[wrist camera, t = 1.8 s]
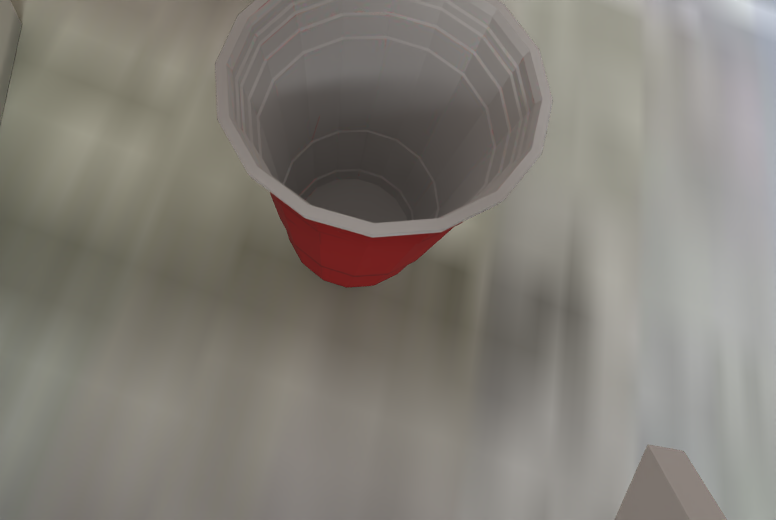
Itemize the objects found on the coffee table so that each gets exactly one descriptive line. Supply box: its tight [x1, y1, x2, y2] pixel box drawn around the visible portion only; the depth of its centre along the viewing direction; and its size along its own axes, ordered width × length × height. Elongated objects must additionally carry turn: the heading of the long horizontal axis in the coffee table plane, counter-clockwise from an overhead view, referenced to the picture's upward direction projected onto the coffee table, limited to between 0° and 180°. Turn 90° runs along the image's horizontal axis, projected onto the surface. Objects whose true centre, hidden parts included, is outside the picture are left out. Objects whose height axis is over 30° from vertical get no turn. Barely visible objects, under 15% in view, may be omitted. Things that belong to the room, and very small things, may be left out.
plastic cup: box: [215, 0, 553, 287], centre depth 28 cm, size 11×11×12 cm
